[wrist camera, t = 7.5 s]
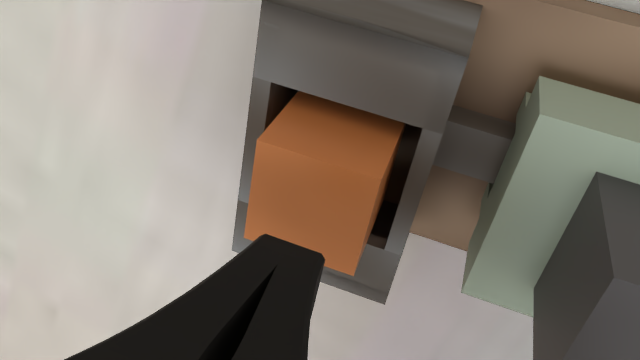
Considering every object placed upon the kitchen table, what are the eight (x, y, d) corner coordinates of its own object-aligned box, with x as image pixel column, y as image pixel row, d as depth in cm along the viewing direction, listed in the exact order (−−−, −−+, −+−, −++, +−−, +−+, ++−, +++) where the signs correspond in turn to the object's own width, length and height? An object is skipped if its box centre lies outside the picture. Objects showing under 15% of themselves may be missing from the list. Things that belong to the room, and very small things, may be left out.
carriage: (651, 280, 19) (706, 501, 13) (472, 221, 20) (444, 403, 14) (759, 121, 16) (903, 320, 10) (539, 60, 17) (541, 205, 11)
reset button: (382, 202, 18) (353, 276, 15) (289, 171, 18) (243, 237, 15) (408, 114, 16) (381, 180, 13) (304, 83, 16) (257, 139, 14)
